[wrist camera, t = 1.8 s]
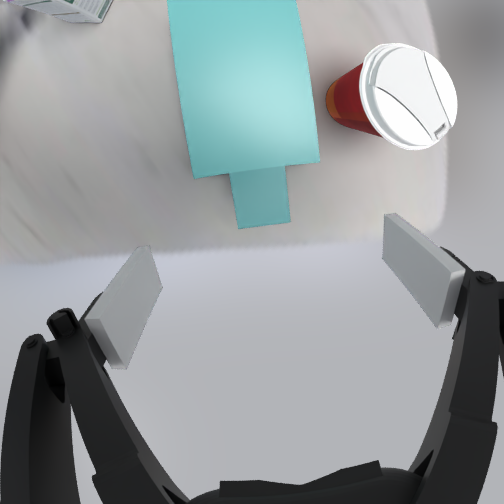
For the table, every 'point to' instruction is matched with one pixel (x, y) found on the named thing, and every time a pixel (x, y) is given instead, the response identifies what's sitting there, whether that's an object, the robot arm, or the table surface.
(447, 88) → the coffee cup
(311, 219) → the table surface
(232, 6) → the snap lid
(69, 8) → the syrup box
